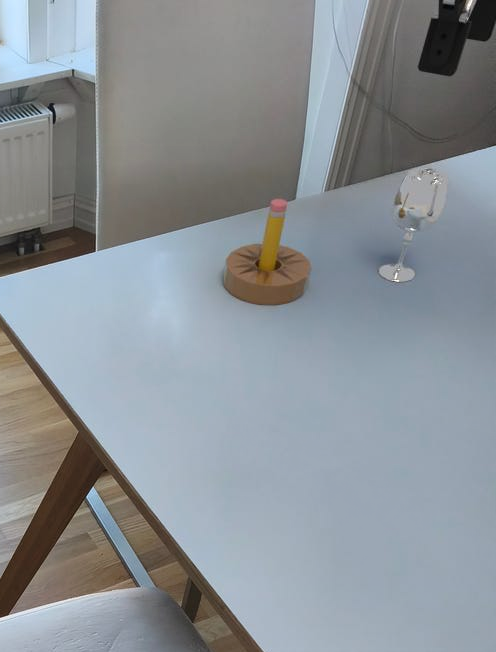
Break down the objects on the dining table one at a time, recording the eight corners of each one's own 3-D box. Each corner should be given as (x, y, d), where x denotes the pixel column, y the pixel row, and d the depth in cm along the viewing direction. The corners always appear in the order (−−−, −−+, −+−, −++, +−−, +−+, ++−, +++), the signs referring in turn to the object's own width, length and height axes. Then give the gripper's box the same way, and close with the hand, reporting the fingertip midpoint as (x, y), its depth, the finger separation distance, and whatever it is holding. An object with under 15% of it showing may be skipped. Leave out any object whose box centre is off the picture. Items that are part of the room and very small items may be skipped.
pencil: (270, 277, 113) (286, 198, 105) (272, 285, 112) (288, 206, 104) (255, 277, 113) (269, 198, 105) (256, 285, 112) (271, 206, 104)
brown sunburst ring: (301, 263, 115) (305, 243, 113) (310, 305, 109) (315, 286, 107) (221, 262, 116) (223, 243, 114) (225, 304, 110) (229, 284, 108)
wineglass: (418, 287, 111) (452, 189, 101) (371, 280, 112) (400, 183, 103) (421, 265, 114) (454, 168, 105) (375, 259, 116) (404, 163, 106)
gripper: (555, -183, 60) (465, 95, 73) (615, -223, 69) (525, 32, 82) (445, -190, 63) (377, 79, 76) (515, -227, 72) (444, 20, 85)
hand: (454, 55), depth 79 cm, fingers open, 9 cm apart
